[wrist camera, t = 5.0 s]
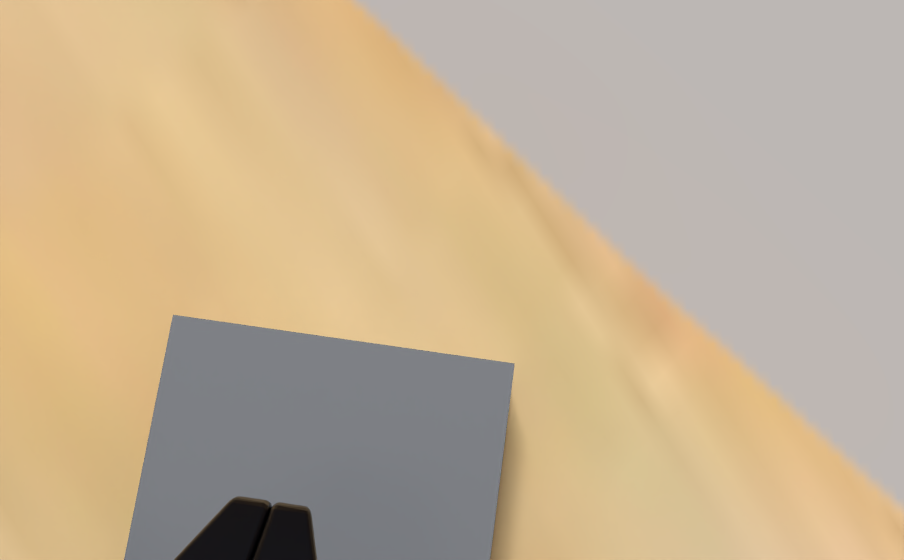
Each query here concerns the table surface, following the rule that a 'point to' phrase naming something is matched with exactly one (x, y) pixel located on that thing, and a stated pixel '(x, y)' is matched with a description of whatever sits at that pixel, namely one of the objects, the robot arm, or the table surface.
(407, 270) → the table surface
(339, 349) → the glazed tile
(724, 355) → the table surface
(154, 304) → the table surface
